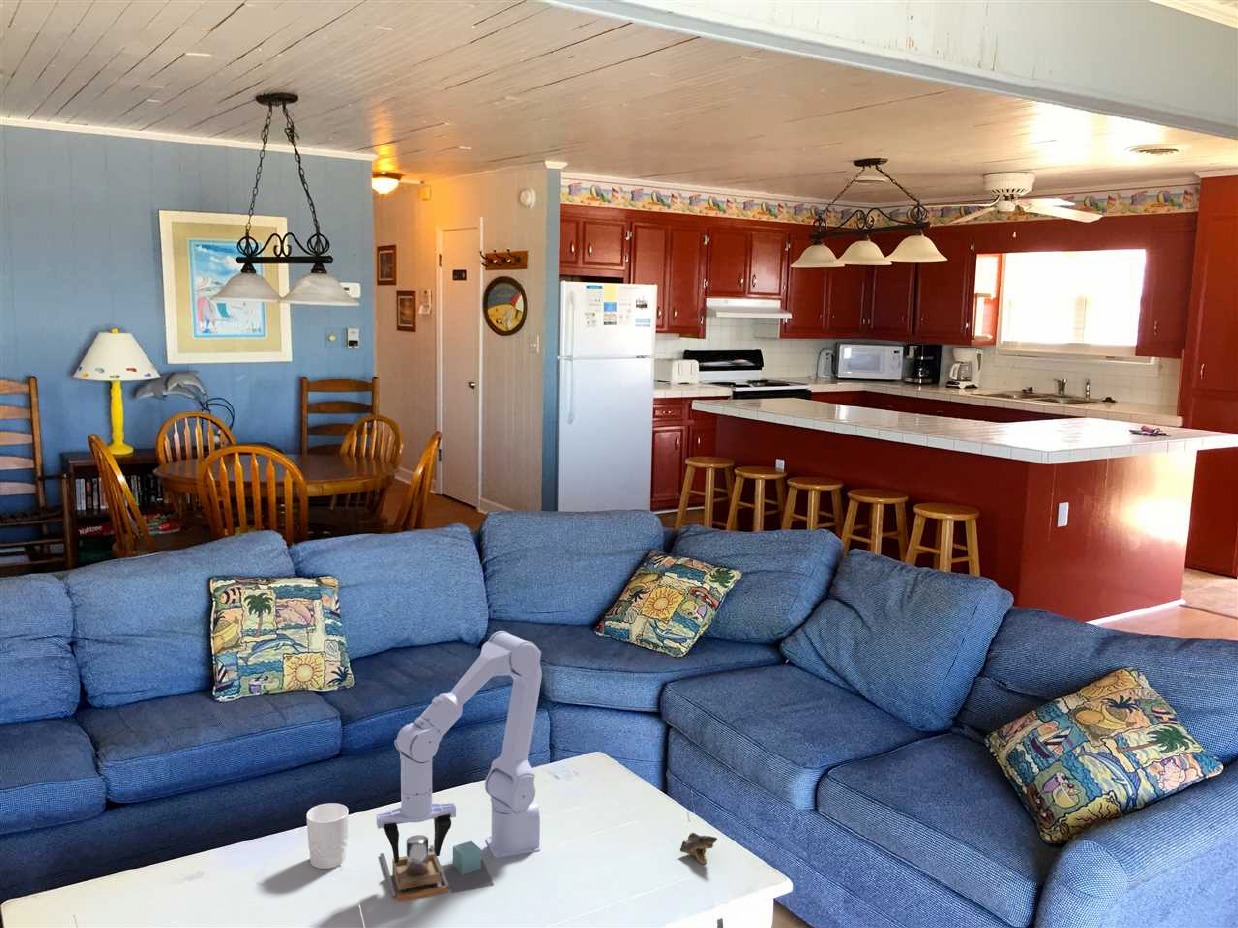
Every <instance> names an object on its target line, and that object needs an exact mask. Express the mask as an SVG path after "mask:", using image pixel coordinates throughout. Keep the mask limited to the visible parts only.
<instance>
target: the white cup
mask: <svg viewBox="0 0 1238 928" xmlns="http://www.w3.org/2000/svg"><path fill="white" fill-rule="evenodd" d="M305 817H306V827H307V840H308V841H307V842H308V850H309V860H310V861H309V862H310V865H311V866H312V867H314V868H316V869H319V870H329V869H330V870H331V869H334V868H337V867H339V866H341V865H342V864H343V863H344V862H345V861H346V860H347V859H346V858H347V857H346V856H347V846H348V836H349V835H348V834H349V833H348V831H349V808H348V807H347V806H346V805H344V804H341V803H336V802H335V803H331V802H330V803H323V804H319V805H316V806H313V807H311V808H310V809H309V810H308V811H307V813H306V816H305Z"/></svg>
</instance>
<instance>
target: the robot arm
mask: <svg viewBox="0 0 1238 928" xmlns="http://www.w3.org/2000/svg"><path fill="white" fill-rule="evenodd" d="M541 655H542V651H541V650H540V649H539V647H537V646H536V644H535V643H534V642H532V641H529V640H525V639H522V638H521V637H518V636H516V635H514V634H513V635H512V634H510V633H509V632H507V631H505V630H498V631H496V632H494V633H493V634H492V635H491V636H490V637H489V639H488V641H486V642H485V643H484V644H483V645H482V646H481V651H480V655H479V656H478V657H477V659H476V660H475V661H474V662H473V663H472V665H471V666H470V667H469V668H468V670H467V671H466V672H465V674H464V675H463V676H462V677H461V678H460V680H459V681H458V682H457V684H455V685H454V687H453V688H452V689H451V691H449V692H445V693H440V694H439V695H438V696H434V698H433V699H432V700H431V704H430V705H429V706H428V707H426V709H424V711H423V712H422V713H420V715H419V717H417V718H415V720H414V722H411V723H409V724H406V725H405V726H403V727H402V728H401V729H400V730H399V731H398V733H397V737H396V739H395V740H394V741H393V742H394V743H393V744H394V746H395V748H396V750H397V751H398V752H399V756H400V757H399V758H400V799H401V801H400V802H401V804H400V805H401V806H400V807H397V808H395V809H394V808H393V809H392V810H390V811H389V810H388V811H386V812H381V813H376V826H377V829H383V831H384V834H385V837H386V838H387V840H388V842H389V844H390V847H391V850H392V855H393V857H392V858H394V861H395V863H399V857H400V854H399V853H400V852H399V840H400V839H399V838H400V832H399V827H398V824H399V825H400V824H407V823H421V822H424V821H428V820H431V819H432V820H434V821H433V822H434V823H433V824H434V825H433V826H434V841H433V843H434V845H433V847H434V851H435V854H436V856H437V857H440V856H441V851H442V847H443V844H444V840H445V838H446V836H447V834H448V832H449V830H450V829H451V826H452V820H451V818H456V817H457V805H456V804H455V803H454V802H450V803H435V802H434V803H433V757H435V756H436V755H437V753H438V750H439V747H440V743H441V742H442V739H443V737H444V735H445V734H447V732H448V731H449V730H450V728H451V727H452V726H453V725H455V723H456V722H457V721H458V720H459V719H460V718H461V716H463V705H464V704H466V702H467V701H469V700H470V699H471V698H472V697H473V696H474V695H475V694H477V692H479V690H480V689H481V688H482V687H484V685H486V683H488V682H489V681H490V680H491V679H492V678H493V677H499V676H500V677H503V676H510V677H511V679H512V680H513V682H512V688H511V694H510V698H509V699H510V700H509V706H508V711H507V716H506V723H505V728H504V734H503V735H504V736H503V741H502V747H501V754H500V756H499V757H497V758H495V759H494V760H493V761H492V762H491V768H490V770H489V772H488V774H487V775H486V778H485V781H484V789H485V792H486V793H487V795H488V796H490V802H491V836H488V837H486V838H485V842H486V844H487V846H488V848H489V850H490V851H491V854H492V855H493V857H494V859H499V858H505V857H506V858H507V857H511V856H516V855H517V856H518V855H522V854H523V855H525V854H529V853H535V852H539V851H541V847H540V838H541V837H540V832H541V831H540V830H541V829H540V826H541V825H540V824H541V823H540V821H541V819H540V818H541V817H540V812H539V811H540V810H539V806H538V803H537V801H535V800H534V799H535V796H536V788H535V787H536V786H535V782H534V781H535V773H534V770H533V768H532V765H531V763H530V762H529V755H530V749H531V742H532V738H533V732H534V731H533V730H534V724H535V718H536V712H537V706H538V702H539V695H540V689H541V684H542V683H541V682H542V678H543V676H542V675H543V671H542V667H541Z"/></svg>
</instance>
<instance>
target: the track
mask: <svg viewBox="0 0 1238 928" xmlns="http://www.w3.org/2000/svg"><path fill="white" fill-rule="evenodd" d="M429 850H430V852H435V851H434V845H429ZM379 856H380V859H381V862H382V863H381V864H382V866H383V870H384V873H385V877H386V881H387V885H388V887H389V891H390V894H391V898H392V900H395V899H396V901H397V902H401V901H407V900H414V899H418V898H419V899H420V898H425V897H430V896H435V895H442V894H446V893H447V890H449V889H450V886H449V883H448V881H447V878H446V876H445V873H444V871H443V868H442V865H441V862H440V860H439V856H436V854H435V857H436V859H437V862H438V865H439V867H440V870H441V872H442V884H443V885H441V886H438V887H431V888H424V889H419V890H414V891H408V892H405V893H402V892H401V893H397V894H396V891H395V888H394V885H393V880H392V876H391V874H390V871H389V868H388V864H387V860H386V858H385V854H384V852H381V853H380V855H379Z"/></svg>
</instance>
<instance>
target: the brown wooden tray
mask: <svg viewBox="0 0 1238 928" xmlns="http://www.w3.org/2000/svg"><path fill="white" fill-rule="evenodd" d="M391 859H392V865H391V866H392V867H391V868H392V878H395V882H396V885H397V888H398V889H397V890H400V891H401V893H406V889H411V888H416V887H423V886H427V885H433V888H435V887H439V884H440V883H443V881H442V872H441V870H440V867H439V865H438V862H437V859H436V857H435V852H431V851H428V872H427V873H426V874H424V875H421V876H411V875H409V874H408V873H407V855H405V856H399V863H395V861H394V857H392V858H391Z"/></svg>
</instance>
